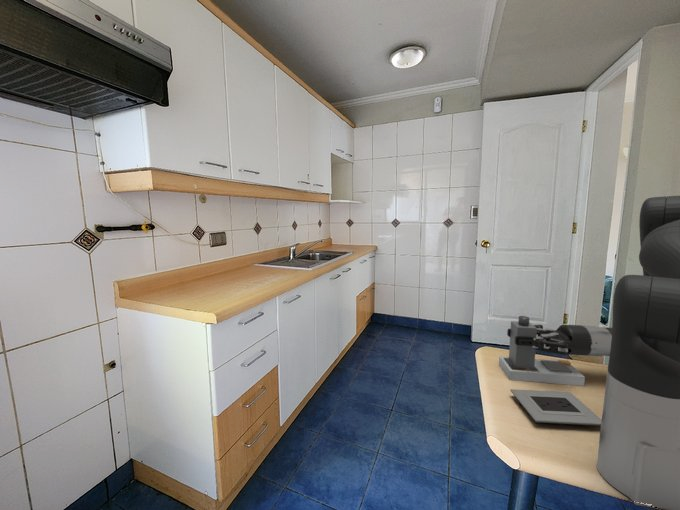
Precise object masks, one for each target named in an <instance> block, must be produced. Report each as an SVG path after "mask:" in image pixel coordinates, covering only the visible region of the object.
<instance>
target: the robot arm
mask: <svg viewBox="0 0 680 510" xmlns="http://www.w3.org/2000/svg"><path fill="white" fill-rule="evenodd" d="M638 222H639V224H638V225H639V243H640V245H639V246H640V250H639V255H638V260H639V264H640V266H641V268H642V274H643V275H640V274H639V275H638V274H626V275H624V276H622V277H620V279H619V280H618V281H617V284H616V285H615V289H614V294H613V302H612V322H611V323H612V325H611V327H605V326H604V327H603V326H595V325H582V324H561V325H559V327H557V329H556V330H554V329H552V328H548V327H547V328H546V327H545V328H544V325H543V324H533V325H534V326H535V327H536V328H537V336H536V337H532V338H531V337H523V336H515V342H514V343H515V344H516V345H522V346H532V347H534V348H536V349H537V351H539V352H544V353H550V354H557V355H564V356H567V355H570V356H584V357H585V356H587V357H588V356H589V357H606V356H607V357H608V358H609V359H608V365H607V373H606V380H605V389H604V398H603V406H602V413H601V419H602V421H601V426H600V429H599V430H600V432H599V441H598V449H597V459H596V467H597V470H598V472H599V475H600V476H601V477H602V478H603V479H604V480H605V481H607V483H608V484H609V485H610V486H612V487H613V488H614V489H616V490H617V491H619V492H620V493H621V494H623V495H625V496H626V497H628V498H629V499H630V500H631V501H632V502H633V501H635V502H633V504H635V505H636V506H640V507H647V508H655V507H657V508H655V509H660V510H680V195H668V196H665V195H664V196H654V197H649V198H646V199H645V200H644V201H643V203H642V204H641V208H640V211H639V220H638ZM510 332H511V328H508V329H507V333H506V334H507V337H509V338H510ZM636 502H639V503H636ZM641 502H642V503H644V504H646V503H647V504H652V505H651V506H654V507H651V506H647V505H644V504H640V503H641Z"/></svg>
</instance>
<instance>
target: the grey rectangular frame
mask: <svg viewBox="0 0 680 510" xmlns="http://www.w3.org/2000/svg"><path fill="white" fill-rule="evenodd" d="M499 364H500V365H499ZM498 365H499V367H500V366H501V367H500V368H501V369H503V370H502V371H503V373H504V374H505V375H506V377H507V378H508V380H511V381H522V382H523V381H524V382H532V383H535V382H536V383H546V384H557V385H558V384H560V385H567V386H568V385H570V386H580V387H582V386H585V379H586V376H584V374H582V372H580V371H578V370H577V369H576V368H575V367H574V366H573V365H572V362H570V361H569V360H567V359H566V360H564V359H557V360H555V359H541V358H535V365H534V369H533V368H528V370H521V369H512V367H513V366H514V365H513V364H512V362H511V361H510V360H509V356H501V355H499V356H498ZM509 365H510V366H509ZM529 369H530V370H531V371H530V370H529Z"/></svg>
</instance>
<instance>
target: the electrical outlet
mask: <svg viewBox="0 0 680 510" xmlns="http://www.w3.org/2000/svg"><path fill="white" fill-rule="evenodd" d="M510 392H511V394H513V396H514V397H515V398H516V399H517V401H518V402H519V403H520V404H521V405H522V407H523V408H524V409H525V411H527V413H528V414H529V415H530V417H531V418H532V420H534V421H535V423H539V424H554V425H555V424H556V425H570V426H571V425H574V426H575V425H576V426H590V427H591V426H592V427H594V426H595V427H601V421H602V418H601V417H599V416H598V414H596V413H595V412H594V411H593V410H592V409H591V408H589V407H588V406H587V405H586V404H585V403H583V402H582V401H581V400H580V399H578V398H577V397H576V396H575V395H574V394H573V393H572V392H571V391H557V390H556V391H555V390H538V389H537V390H536V389H533V390H532V389H517V388H516V389H515V388H514V389H513V388H511V389H510Z"/></svg>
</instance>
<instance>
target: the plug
mask: <svg viewBox="0 0 680 510" xmlns="http://www.w3.org/2000/svg"><path fill="white" fill-rule="evenodd" d="M534 325H535V324H533V323H531V322H530V317H529V316H527V315H519V316H518V321H516V320H513V321H512V320H511V321H510V329H511V332H510V337H509V349H508V351H509V352H508V357H509V360H510V361H511V362H512V364H513V365H514V366H515V367H514V368H519V369H521V368H522V369H529V368H533V369H534V365H535V359H536V349H537V348H534V347H532V346H522V345H516V344H515V343H514V342H515V336H523V337H531V338H532V337H537V336H538V335H537V328H536V327H535V326H534Z"/></svg>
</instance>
